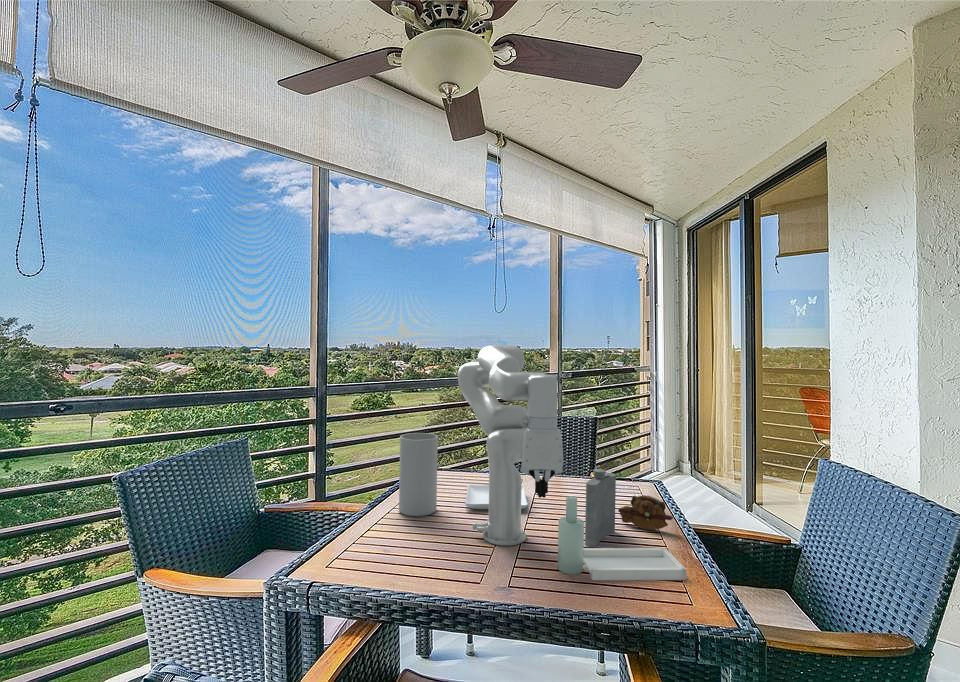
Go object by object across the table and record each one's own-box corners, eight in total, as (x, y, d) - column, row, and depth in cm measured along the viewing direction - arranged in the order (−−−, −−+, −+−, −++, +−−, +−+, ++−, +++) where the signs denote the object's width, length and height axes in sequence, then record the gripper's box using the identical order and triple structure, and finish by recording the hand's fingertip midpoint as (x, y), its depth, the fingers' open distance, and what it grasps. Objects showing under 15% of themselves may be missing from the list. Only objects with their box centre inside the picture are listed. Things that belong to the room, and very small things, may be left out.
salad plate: (528, 514, 170) (528, 504, 170) (464, 512, 170) (464, 502, 170) (523, 494, 191) (523, 485, 191) (467, 493, 192) (467, 484, 192)
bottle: (560, 574, 126) (561, 502, 126) (555, 563, 133) (556, 494, 133) (586, 574, 127) (587, 502, 126) (579, 562, 133) (581, 494, 133)
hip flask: (593, 548, 143) (594, 476, 143) (580, 544, 145) (581, 474, 145) (616, 531, 155) (617, 466, 155) (604, 528, 158) (605, 463, 158)
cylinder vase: (396, 517, 164) (397, 439, 164) (401, 504, 177) (402, 432, 176) (435, 517, 165) (436, 440, 164) (437, 504, 177) (438, 433, 177)
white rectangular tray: (592, 580, 123) (592, 570, 123) (579, 557, 136) (580, 548, 136) (686, 579, 124) (686, 569, 124) (664, 557, 137) (665, 548, 137)
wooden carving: (616, 526, 159) (617, 494, 159) (619, 521, 164) (620, 490, 163) (672, 536, 152) (673, 503, 152) (674, 531, 156) (674, 498, 156)
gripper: (514, 425, 125) (513, 500, 125) (574, 425, 125) (574, 500, 125) (511, 421, 132) (510, 491, 132) (568, 421, 133) (567, 491, 133)
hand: (541, 495), depth 129 cm, fingers closed
